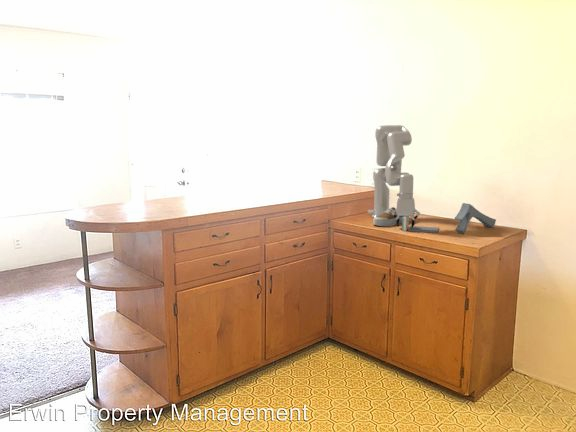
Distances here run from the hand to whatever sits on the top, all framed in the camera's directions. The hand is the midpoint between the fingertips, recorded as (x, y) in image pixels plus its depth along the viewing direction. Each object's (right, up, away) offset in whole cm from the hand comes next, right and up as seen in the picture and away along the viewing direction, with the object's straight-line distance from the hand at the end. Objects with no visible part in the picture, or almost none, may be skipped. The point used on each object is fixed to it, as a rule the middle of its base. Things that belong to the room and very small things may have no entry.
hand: (405, 226), depth 282 cm
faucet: (+38, -3, -6) cm, 38 cm away
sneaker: (-5, +1, +17) cm, 18 cm away
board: (0, -2, 0) cm, 2 cm away
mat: (+10, -2, -2) cm, 10 cm away
